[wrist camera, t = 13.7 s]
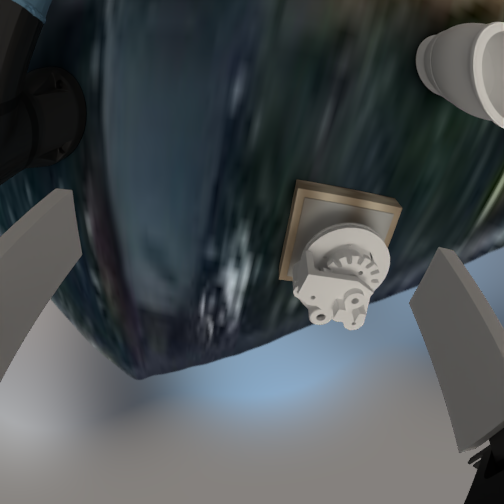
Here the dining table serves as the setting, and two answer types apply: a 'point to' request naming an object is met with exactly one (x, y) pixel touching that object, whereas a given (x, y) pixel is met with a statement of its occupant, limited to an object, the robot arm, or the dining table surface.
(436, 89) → the jar
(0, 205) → the dining table surface
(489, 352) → the robot arm
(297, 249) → the stand
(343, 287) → the mechanical part
